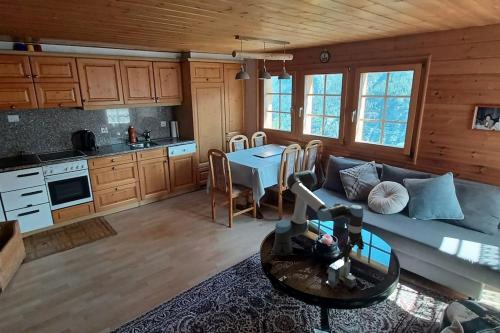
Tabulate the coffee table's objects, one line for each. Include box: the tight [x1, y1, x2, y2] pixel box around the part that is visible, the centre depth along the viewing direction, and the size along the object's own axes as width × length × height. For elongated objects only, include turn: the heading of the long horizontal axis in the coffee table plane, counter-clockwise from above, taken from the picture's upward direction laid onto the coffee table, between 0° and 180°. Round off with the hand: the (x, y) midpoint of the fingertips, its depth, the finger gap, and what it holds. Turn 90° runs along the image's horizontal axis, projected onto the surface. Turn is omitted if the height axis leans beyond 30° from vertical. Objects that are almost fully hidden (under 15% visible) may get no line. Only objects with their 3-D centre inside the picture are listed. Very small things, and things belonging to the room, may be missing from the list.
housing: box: [325, 257, 353, 288], centre depth 187 cm, size 6×20×12 cm, turn 128°
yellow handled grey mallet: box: [326, 268, 356, 289], centre depth 187 cm, size 19×4×6 cm, turn 38°
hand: (352, 262), depth 177 cm, fingers open, 13 cm apart
